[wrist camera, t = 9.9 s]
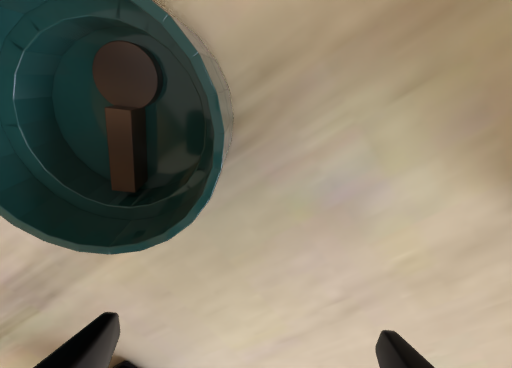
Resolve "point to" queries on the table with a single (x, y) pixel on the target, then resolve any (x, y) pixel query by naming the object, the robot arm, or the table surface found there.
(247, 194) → the table surface
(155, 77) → the spoon
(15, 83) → the bucket
